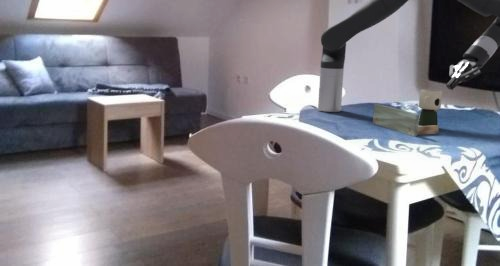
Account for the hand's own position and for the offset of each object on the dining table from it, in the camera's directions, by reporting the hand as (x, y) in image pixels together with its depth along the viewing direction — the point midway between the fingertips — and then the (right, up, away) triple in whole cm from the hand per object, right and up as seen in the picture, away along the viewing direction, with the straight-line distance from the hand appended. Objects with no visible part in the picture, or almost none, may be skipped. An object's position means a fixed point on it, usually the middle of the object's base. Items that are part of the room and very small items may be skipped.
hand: (449, 87), depth 167 cm
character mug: (-7, -14, 0) cm, 16 cm away
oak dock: (-15, -14, -3) cm, 21 cm away
